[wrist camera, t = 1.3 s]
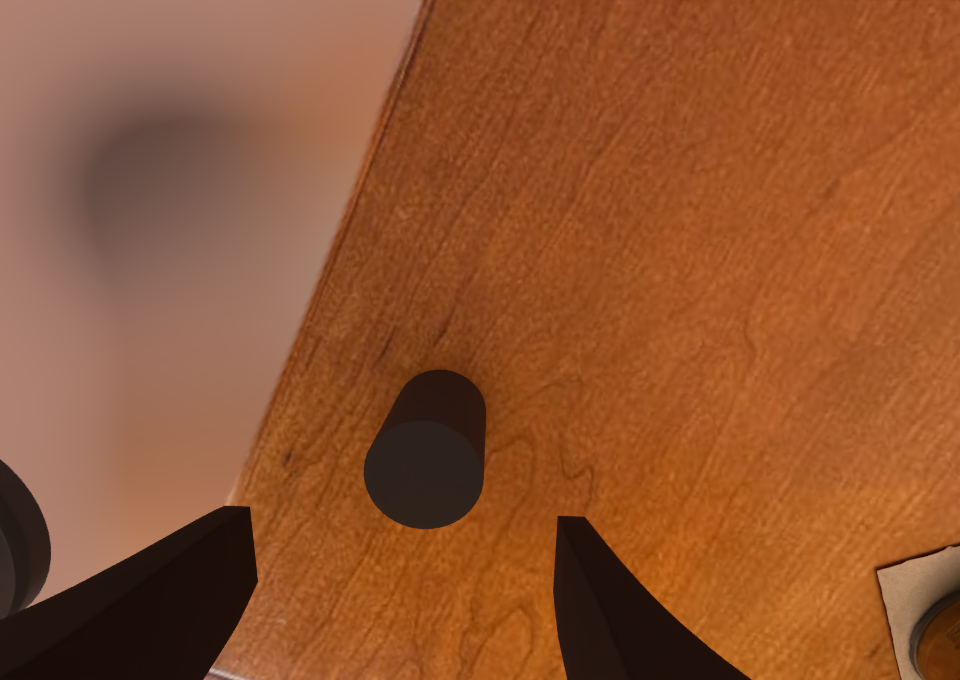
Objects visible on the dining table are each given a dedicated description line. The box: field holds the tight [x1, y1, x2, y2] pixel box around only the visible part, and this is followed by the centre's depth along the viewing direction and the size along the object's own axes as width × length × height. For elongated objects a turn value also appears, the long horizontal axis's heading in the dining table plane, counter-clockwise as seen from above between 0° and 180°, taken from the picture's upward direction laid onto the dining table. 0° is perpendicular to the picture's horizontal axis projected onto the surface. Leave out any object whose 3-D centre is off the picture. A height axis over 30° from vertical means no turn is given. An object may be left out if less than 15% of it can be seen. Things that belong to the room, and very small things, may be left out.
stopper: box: [364, 370, 486, 529], centre depth 17 cm, size 4×4×5 cm
